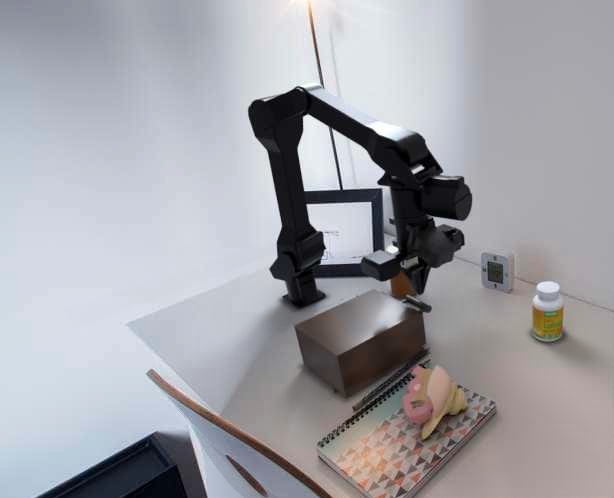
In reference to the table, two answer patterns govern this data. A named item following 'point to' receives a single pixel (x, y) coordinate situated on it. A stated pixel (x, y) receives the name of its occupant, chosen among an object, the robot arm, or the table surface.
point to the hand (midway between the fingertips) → (420, 293)
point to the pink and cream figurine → (431, 398)
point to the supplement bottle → (548, 312)
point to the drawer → (418, 304)
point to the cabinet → (359, 341)
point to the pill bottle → (399, 280)
